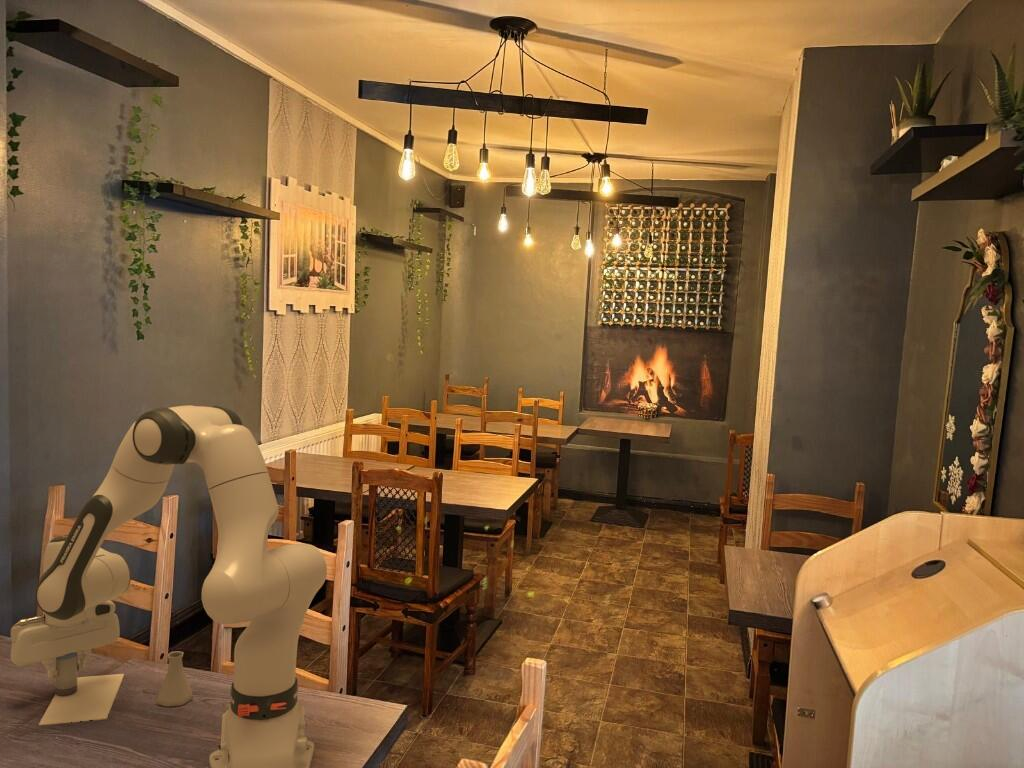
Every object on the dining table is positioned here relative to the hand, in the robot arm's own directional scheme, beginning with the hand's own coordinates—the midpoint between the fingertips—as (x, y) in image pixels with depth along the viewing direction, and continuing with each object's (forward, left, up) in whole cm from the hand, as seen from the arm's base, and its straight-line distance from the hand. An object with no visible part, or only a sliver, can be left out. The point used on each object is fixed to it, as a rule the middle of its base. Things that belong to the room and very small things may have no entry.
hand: (66, 673), depth 164 cm
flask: (-7, -22, -5) cm, 24 cm away
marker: (0, 0, -4) cm, 4 cm away
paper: (-3, -4, -4) cm, 7 cm away
